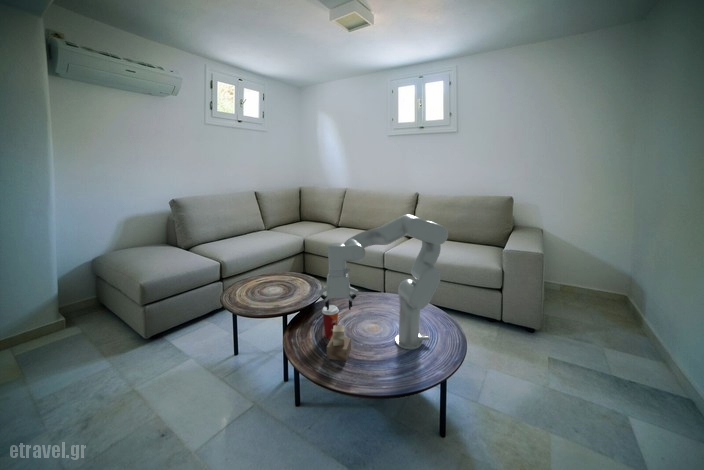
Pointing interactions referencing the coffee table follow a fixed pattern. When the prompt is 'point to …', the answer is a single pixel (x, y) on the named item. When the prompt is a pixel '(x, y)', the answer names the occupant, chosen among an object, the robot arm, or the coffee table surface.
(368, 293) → the coffee table surface
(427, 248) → the robot arm
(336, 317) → the coffee cup
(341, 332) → the oak block
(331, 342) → the tan wooden cube
